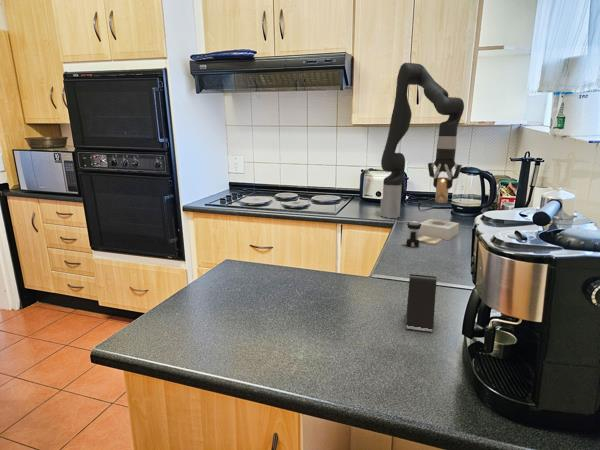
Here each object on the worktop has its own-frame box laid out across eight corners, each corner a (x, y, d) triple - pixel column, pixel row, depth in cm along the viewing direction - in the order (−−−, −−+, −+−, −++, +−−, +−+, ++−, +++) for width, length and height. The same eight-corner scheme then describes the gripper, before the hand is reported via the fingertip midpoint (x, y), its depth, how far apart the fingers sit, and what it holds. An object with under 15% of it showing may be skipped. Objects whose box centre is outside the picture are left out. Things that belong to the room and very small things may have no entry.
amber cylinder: (433, 201, 168) (435, 178, 165) (437, 200, 171) (439, 176, 169) (444, 203, 164) (447, 179, 162) (448, 201, 168) (451, 177, 165)
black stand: (402, 247, 153) (404, 222, 150) (401, 243, 158) (403, 219, 155) (419, 248, 151) (422, 223, 149) (418, 244, 156) (420, 220, 154)
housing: (417, 234, 170) (418, 223, 169) (429, 229, 180) (430, 218, 179) (447, 240, 162) (448, 228, 161) (457, 234, 172) (459, 223, 171)
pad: (415, 241, 160) (415, 239, 160) (423, 237, 166) (423, 235, 166) (434, 245, 155) (434, 243, 155) (441, 241, 161) (442, 239, 161)
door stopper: (406, 312, 99) (410, 268, 96) (431, 315, 97) (435, 270, 94) (405, 329, 90) (409, 281, 88) (432, 333, 89) (437, 284, 86)
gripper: (466, 147, 160) (462, 188, 165) (432, 146, 169) (429, 185, 173) (461, 148, 155) (456, 190, 159) (426, 147, 164) (422, 187, 168)
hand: (442, 187), depth 166 cm, fingers closed on amber cylinder, 5 cm apart
